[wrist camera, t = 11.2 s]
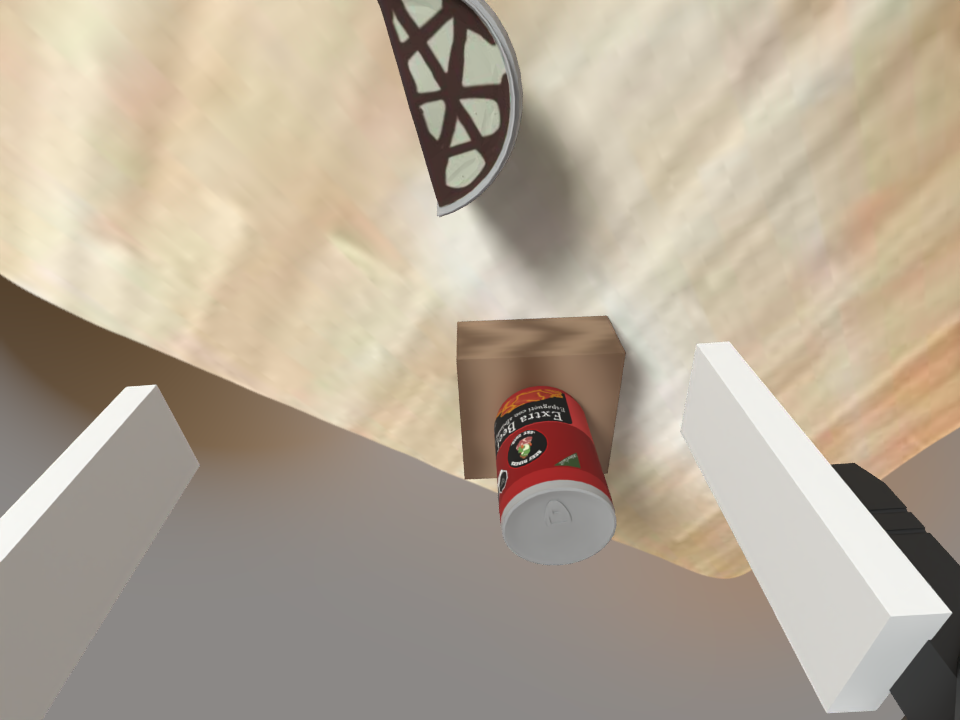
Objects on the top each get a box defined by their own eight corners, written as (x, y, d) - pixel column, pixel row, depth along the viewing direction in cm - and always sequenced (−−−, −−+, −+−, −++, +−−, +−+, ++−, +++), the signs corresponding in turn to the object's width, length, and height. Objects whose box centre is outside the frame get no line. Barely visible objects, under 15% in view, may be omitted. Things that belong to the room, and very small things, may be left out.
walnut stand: (607, 315, 44) (625, 352, 39) (593, 429, 51) (607, 473, 46) (457, 321, 44) (456, 360, 39) (464, 434, 51) (464, 479, 46)
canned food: (559, 367, 39) (588, 470, 30) (599, 433, 43) (636, 542, 34) (475, 407, 41) (478, 516, 32) (520, 467, 45) (534, 579, 36)
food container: (527, 159, 37) (545, 198, 28) (445, 181, 37) (440, 225, 29) (487, -53, 30) (496, -84, 22) (388, -22, 31) (360, -41, 22)
